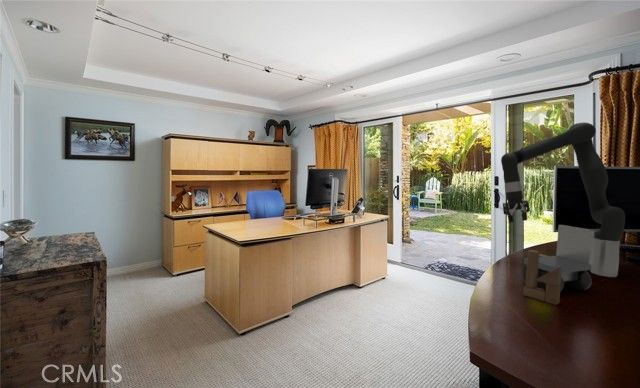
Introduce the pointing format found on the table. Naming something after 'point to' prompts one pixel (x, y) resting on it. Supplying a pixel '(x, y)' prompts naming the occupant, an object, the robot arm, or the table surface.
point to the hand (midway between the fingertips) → (518, 221)
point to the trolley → (569, 258)
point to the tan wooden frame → (550, 278)
